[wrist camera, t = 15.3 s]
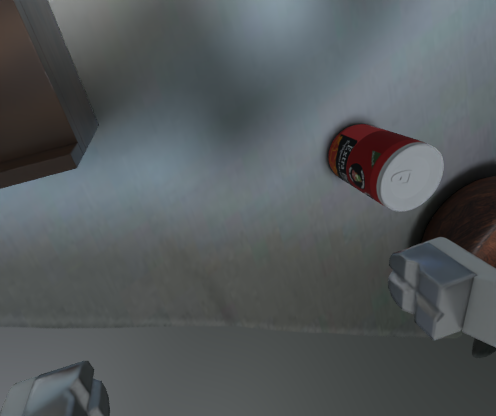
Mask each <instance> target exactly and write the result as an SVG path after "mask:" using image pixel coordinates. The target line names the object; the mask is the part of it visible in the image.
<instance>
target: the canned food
mask: <svg viewBox="0 0 496 416" xmlns="http://www.w3.org/2000/svg"><path fill="white" fill-rule="evenodd" d="M328 158H329V164H330V167H331V168H332V170H333V172H334V173H335V174H336V175H337V176H338V177H339V178H341V179H342V180H344V181H346V182H347V183H349V184H350V185H352V186H353V187H355V188H357V189H358V190H360V191H361V192H363V193H364V194H366V195H368V196H369V197H371V198H372V199H374V200H375V201H377V202H379V203H380V204H382V205H384V206H386V207H387V208H389V209H392V210H394V211H408V210H411V209H414V208H416V207H418V206H420V205H421V204H423V203H424V202H425V201H426V200H427V199H428V198H429V197H431V195H432V194H433V193H434V192H435V190H436V189H437V187H438V185H439V183H440V181H441V178H442V175H443V169H444V162H443V158H442V155H441V153H440V152H439V150H438V149H436V148H435V147H434V146H431V145H430V144H427V143H425V142H421V141H419V140H416V139H413V138H409V137H406V136H403V135H400V134H397V133H393V132H390V131H387V130H384V129H380V128H377V127H374V126H371V125H366V124H359V125H353V126H350V127H348V128H346V129H344V130H343V131H341V132H340V133H339V134H338V135H337V136H336V137H335V139H334V140H333V142H332V144H331V146H330V150H329V157H328Z"/></svg>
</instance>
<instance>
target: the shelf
mask: <svg viewBox="0 0 496 416" xmlns="http://www.w3.org/2000/svg"><path fill="white" fill-rule="evenodd" d="M98 126H99V124H98V122H97V119H96V117H95V115H94V112H93V110H92V107H91V105H90V102H89V100H88V98H87V95H86V93H85V90H84V88H83V85H82V83H81V80H80V78H79V76H78V73H77V71H76V68H75V66H74V63H73V61H72V59H71V56H70V54H69V51H68V49H67V46H66V44H65V42H64V39H63V37H62V34H61V32H60V29H59V27H58V24H57V22H56V20H55V17H54V15H53V12H52V10H51V7H50V5H49V3H48V0H0V189H1V188H5V187H8V186H12V185H16V184H20V183H23V182H27V181H31V180H34V179H38V178H42V177H46V176H49V175H53V174H57V173H61V172H64V171H68V170H72V169H76V168H77V167H78V165H79V163H80V161H81V159H82V157H83V155H84V153H85V152H86V149H87V147H88V145H89V144H90V142H91V140H92V138H93V136H94V134H95V132H96V130H97V128H98Z"/></svg>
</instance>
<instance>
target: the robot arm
mask: <svg viewBox="0 0 496 416" xmlns="http://www.w3.org/2000/svg"><path fill="white" fill-rule="evenodd" d="M389 266H390V267H391V268H392V269H393V272H392V273H391V275H390V276H389V278H388V288H389V290H390V293H391V296H392V298H393V299H394V301H395V302H396V304H397V305H398V306H399V307H400V308H401V309H402V310H404V311H407V312H410V313H412V314H414V321H415V323H416V324H417V325H418V326H419V327H420V328H421V329H422V330H423V331H424V332H425V333H426V334H427V335H428V336H429V337H431V338H432V339H433V340H437V339H439V338H442V337H445V336H448V335H450V334H453V333H456V332H458V331H461V330H462V332H464V333H466V334H468V335H470V336H473V337H474V338H477V339H479V340H481V341H483V342H485V343H487V344H490V345H492V346H494V347H496V268H494V267H492V266H491V265H489V264H488V263H486V262H484V261H483V260H481V259H479V258H478V257H476V256H475V255H473V254H471V253H470V252H468V251H466V250H465V249H463V248H461V247H460V246H458V245H457V244H455V243H453V242H452V241H450V240H448V239H447V238H443V237H438V238H435V239H432V240H429V241H426V242H424V243H421V244H418V245H415V246H413V247H410V248H407V249H404V250H401V251H399V252H396V253H393V254H392V255H391V257H390V260H389ZM93 375H94V369H93V367H92V366H91V364H90V363H89V361H82V362H79V363H75V364H72V365H70V366H66V367H63V368H60V369H57V370H54V371H51V372H48V373H44V374H41V375H39V376H37V377H34V378H30V379H27V380H24V381H21V382H18V383H15V384H14V385H13V387H11V389H10V390H9V392H8V394H7V396H6V399H5V401H4V404H3V406H2V409H1V412H0V416H109V415H110V407H109V397H108V394H107V391H106V388H105V386H104V385H103V383H102V381H99V380H96V379H93Z"/></svg>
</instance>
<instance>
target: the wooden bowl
mask: <svg viewBox="0 0 496 416" xmlns="http://www.w3.org/2000/svg"><path fill="white" fill-rule="evenodd" d="M438 237H443V238H447V239H448V240H450V241H452V242H453V243H455V244H457V245H458V246H460V247H461V248H463V249H465V250H466V251H468V252H470V253H471V254H473V255H475V256H476V257H478V258H479V259H481V260H483V261H484V262H486V263H488V264H489V265H491V266H492V267H494V268H496V176H492V177H488V178H483V179H480V180H477V181H475V182H472V183H470V184H468V185H467V186H465V187H463V188H461V189H460V190H458V191H457V192H456V193H454V194H453V195H452V196H451V197H450V198H448V199H447V200H446V201H445V202H444V203H443V205H442V206H441V207H440V208H439V209H438V210H437V212H436V213H435V215H434V216H433V217H432V219H431V221H430V222H429V224H428V226H427V228H426V230H425V233H424V236H423V239H422V243H424V242H426V241H429V240H432V239H435V238H438Z"/></svg>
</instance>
